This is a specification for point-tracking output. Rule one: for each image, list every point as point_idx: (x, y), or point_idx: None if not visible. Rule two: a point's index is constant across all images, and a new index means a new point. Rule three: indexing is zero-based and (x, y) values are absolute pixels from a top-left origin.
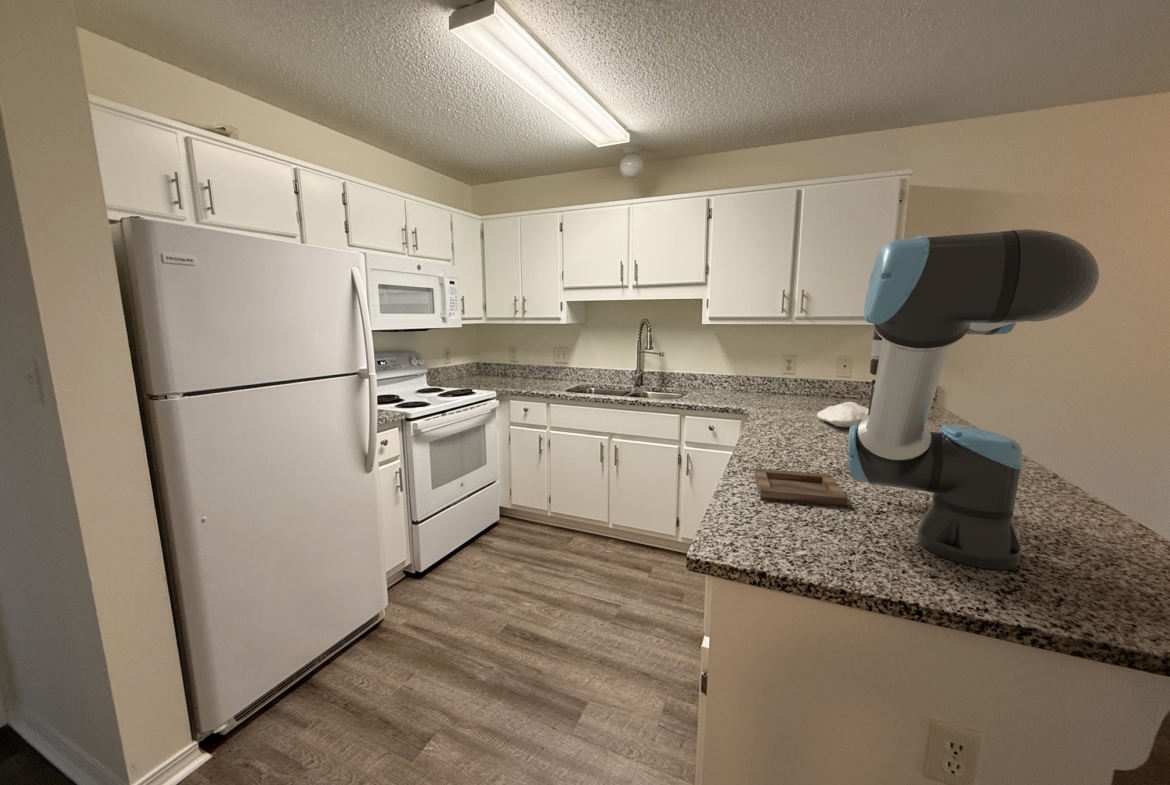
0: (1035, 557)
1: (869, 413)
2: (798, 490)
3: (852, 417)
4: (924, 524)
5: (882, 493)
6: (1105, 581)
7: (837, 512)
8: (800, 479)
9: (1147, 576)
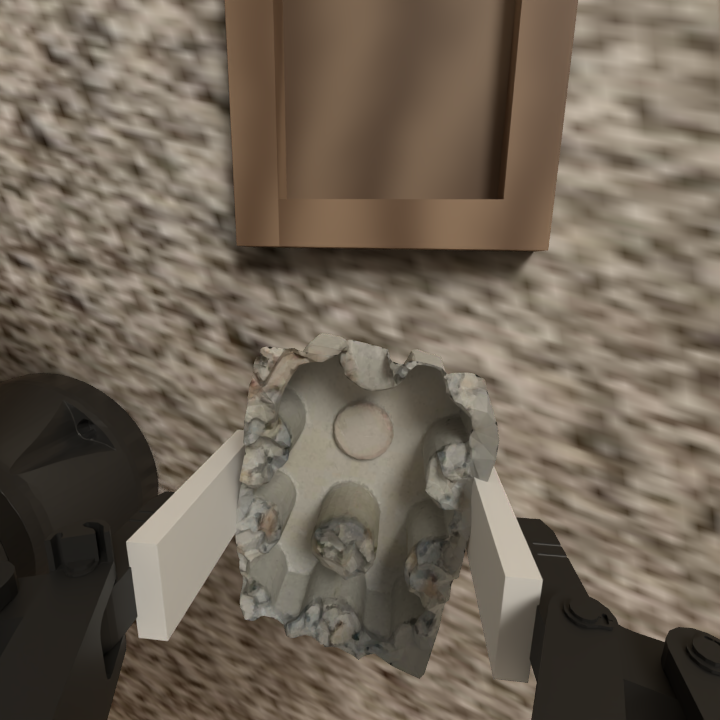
0: None
1: (695, 683)
2: (268, 36)
3: None
4: (4, 398)
5: None
6: None
7: (202, 201)
8: (508, 96)
9: None
